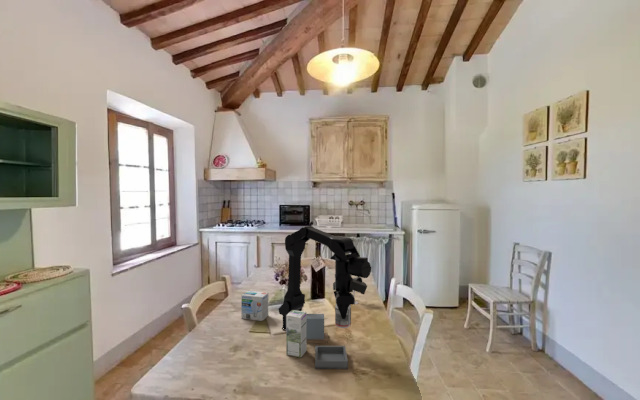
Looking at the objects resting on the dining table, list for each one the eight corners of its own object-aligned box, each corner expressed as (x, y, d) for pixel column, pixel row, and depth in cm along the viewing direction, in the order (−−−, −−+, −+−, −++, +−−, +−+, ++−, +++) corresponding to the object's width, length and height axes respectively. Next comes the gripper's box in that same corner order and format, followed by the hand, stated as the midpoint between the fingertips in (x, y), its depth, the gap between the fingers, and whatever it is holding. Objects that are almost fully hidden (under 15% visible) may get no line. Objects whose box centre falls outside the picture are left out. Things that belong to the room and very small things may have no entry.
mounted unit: (299, 343, 125) (299, 319, 125) (300, 335, 132) (300, 312, 132) (328, 343, 125) (328, 319, 125) (327, 335, 132) (327, 312, 132)
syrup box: (307, 350, 120) (307, 311, 119) (300, 358, 114) (300, 317, 113) (292, 348, 121) (292, 309, 121) (285, 355, 116) (285, 314, 115)
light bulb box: (240, 318, 149) (240, 294, 148) (248, 313, 155) (247, 290, 155) (262, 321, 146) (262, 297, 146) (269, 315, 152) (268, 292, 152)
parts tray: (315, 368, 107) (315, 361, 107) (315, 352, 118) (315, 345, 118) (347, 368, 108) (347, 361, 107) (345, 352, 118) (345, 345, 118)
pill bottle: (341, 321, 124) (341, 294, 124) (353, 324, 121) (354, 297, 120) (332, 325, 120) (332, 298, 119) (345, 329, 116) (345, 301, 116)
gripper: (369, 280, 110) (369, 326, 111) (361, 266, 129) (361, 306, 130) (336, 280, 110) (336, 326, 111) (332, 266, 129) (332, 306, 129)
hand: (342, 315), depth 120 cm, fingers closed on pill bottle, 6 cm apart
